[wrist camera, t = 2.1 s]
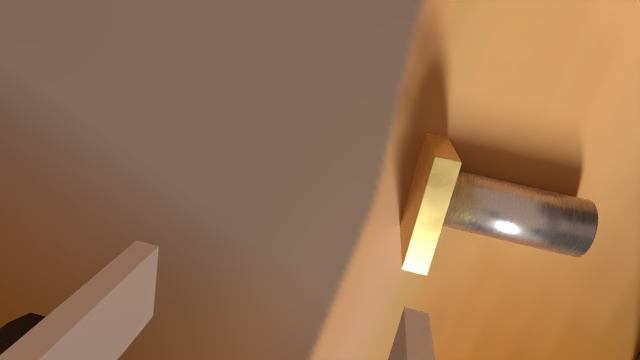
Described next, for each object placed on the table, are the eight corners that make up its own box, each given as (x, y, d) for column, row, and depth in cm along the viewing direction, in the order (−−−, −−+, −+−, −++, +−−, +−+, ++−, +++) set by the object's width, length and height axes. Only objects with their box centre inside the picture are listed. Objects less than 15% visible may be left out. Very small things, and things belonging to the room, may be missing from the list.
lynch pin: (399, 226, 32) (402, 269, 26) (426, 132, 29) (435, 156, 24) (551, 261, 31) (587, 314, 25) (590, 168, 29) (639, 202, 23)
